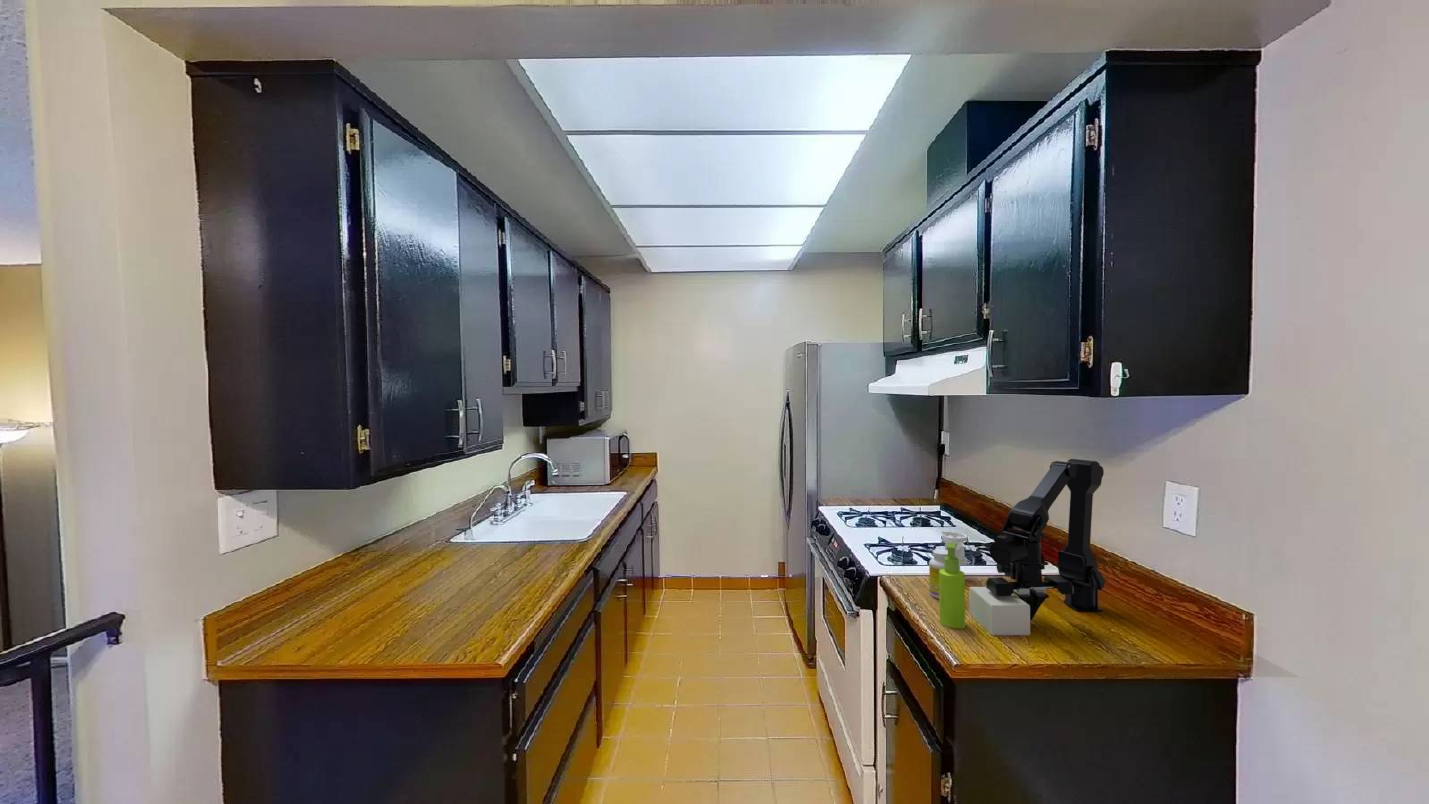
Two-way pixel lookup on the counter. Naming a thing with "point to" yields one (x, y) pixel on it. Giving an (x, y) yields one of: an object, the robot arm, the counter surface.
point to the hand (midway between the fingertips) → (1029, 619)
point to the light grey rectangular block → (999, 612)
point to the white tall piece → (959, 547)
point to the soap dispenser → (952, 591)
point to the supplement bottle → (936, 571)
